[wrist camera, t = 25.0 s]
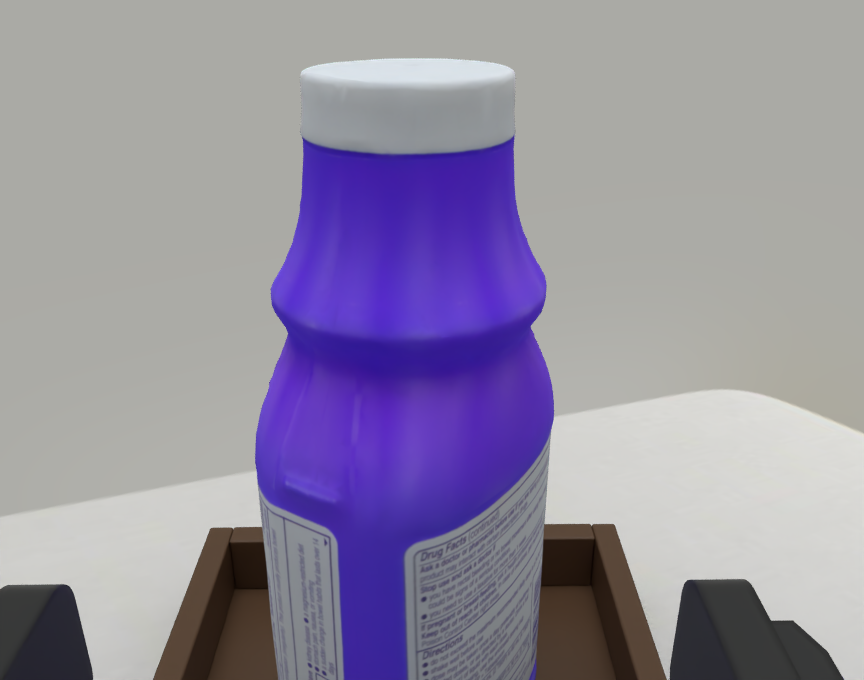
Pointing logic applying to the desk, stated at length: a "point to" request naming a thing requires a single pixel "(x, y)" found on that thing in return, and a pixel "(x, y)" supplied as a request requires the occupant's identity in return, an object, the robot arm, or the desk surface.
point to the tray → (557, 625)
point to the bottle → (406, 386)
